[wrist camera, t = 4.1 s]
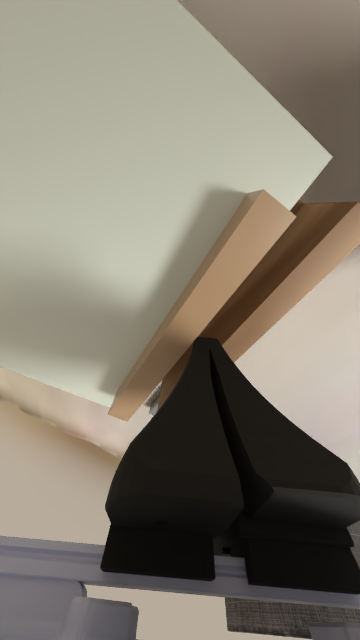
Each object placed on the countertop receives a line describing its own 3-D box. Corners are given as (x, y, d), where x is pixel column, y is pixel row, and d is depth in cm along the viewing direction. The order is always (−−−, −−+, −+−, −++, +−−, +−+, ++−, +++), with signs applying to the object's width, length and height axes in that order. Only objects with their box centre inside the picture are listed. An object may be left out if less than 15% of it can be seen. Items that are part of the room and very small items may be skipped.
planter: (237, 485, 38) (263, 634, 25) (193, 446, 31) (196, 628, 18) (331, 468, 33) (430, 650, 19) (304, 417, 25) (432, 651, 12)
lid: (322, 160, 7) (377, 140, 5) (129, 407, 16) (120, 437, 14) (-231, -382, 3) (-861, -1261, 1) (-85, 325, 12) (-141, 349, 10)
